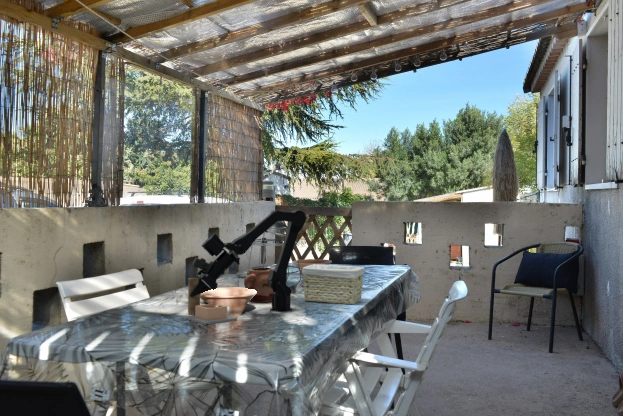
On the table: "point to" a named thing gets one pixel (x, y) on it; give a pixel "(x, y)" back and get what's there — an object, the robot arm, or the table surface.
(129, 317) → the table surface
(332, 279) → the storage basket
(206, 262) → the robot arm
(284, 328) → the table surface
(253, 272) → the decorative planter
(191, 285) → the walnut wood block
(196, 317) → the square socket holder
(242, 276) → the architectural model
